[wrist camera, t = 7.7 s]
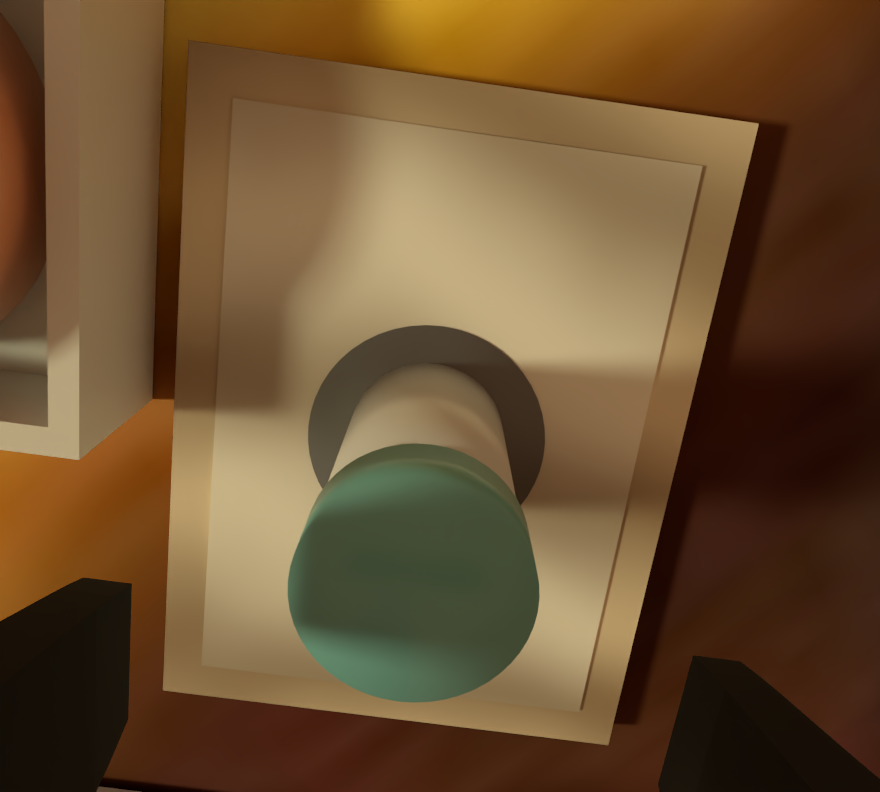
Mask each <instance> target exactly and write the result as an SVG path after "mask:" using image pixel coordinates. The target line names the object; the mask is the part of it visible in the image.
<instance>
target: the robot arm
mask: <svg viewBox="0 0 880 792" xmlns="http://www.w3.org/2000/svg"><path fill="white" fill-rule="evenodd" d="M131 586H132V584H129V583H121V582H114V581H106V580H98V579H90V578H81V579H79V580H77V581H75V582H73V583H71V584H69V585H67V586H65V587H63V588H61V589H59V590H57V591H55V592H53V593H51V594H49V595H48V596H46V597H44V598H42V599H40V600H38V601H37V602H35V603H33V604H31V605H29V606H27V607H26V608H24V609H22V610H20V611H18V612H17V613H15V614H13V615H11V616H9V617H7V618H6V619H4V620H2V621H0V792H140V791H132V790H123V789H115V788H107V787H99V785H100V783H101V780H102V778H103V776H104V774H105V772H106V769H107V767H108V765H109V763H110V760H111V758H112V756H113V753H114V751H115V749H116V746H117V744H118V742H119V739H120V737H121V734H122V732H123V730H124V727H125V725H126V723H127V720H128V701H129V663H130V624H131ZM658 785H659V791H660V792H880V779H879V778H878V777H877V776H875V775H874V774H873V773H872V772H871V771H869V770H868V769H867V768H866V767H865V766H864V765H862V764H861V763H860V762H859V761H858V760H856V759H855V758H854V757H853V756H852V755H851V754H849V753H848V752H847V751H846V750H845V749H844V748H842V747H841V746H840V745H839V744H838V743H837V742H836V741H834V740H833V739H832V738H831V737H830V736H829V735H827V734H826V733H825V732H824V731H823V730H822V729H820V728H819V727H818V726H817V725H816V724H815V723H814V722H812V721H811V720H810V719H809V718H808V717H807V716H806V715H804V714H803V713H802V712H801V711H800V710H799V709H797V708H796V707H795V706H794V705H793V704H792V703H791V702H789V701H788V700H787V699H786V698H785V697H784V696H782V695H781V694H780V693H779V692H778V691H777V690H775V689H774V688H773V687H772V686H771V685H769V684H768V683H767V682H766V681H765V680H763V679H762V678H761V677H760V676H758V675H757V674H756V673H755V672H753V671H752V670H751V669H749V668H748V667H747V666H745V665H744V664H743V663H741V662H740V661H732V660H725V659H717V658H709V657H701V656H693V658H692V662H691V665H690V669H689V673H688V677H687V680H686V684H685V688H684V691H683V695H682V699H681V702H680V706H679V710H678V713H677V717H676V721H675V724H674V728H673V732H672V735H671V739H670V743H669V746H668V750H667V754H666V757H665V761H664V765H663V768H662V772H661V776H660V779H659V783H658Z"/></svg>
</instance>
